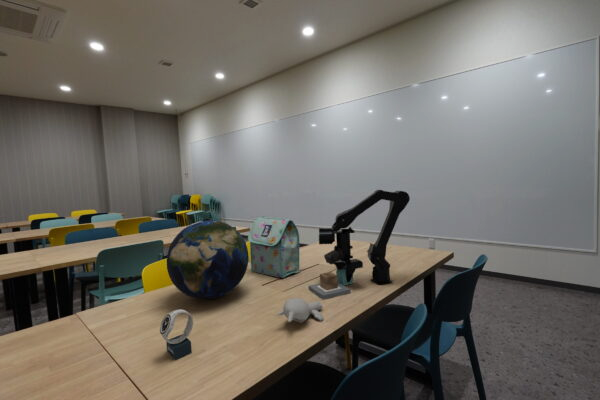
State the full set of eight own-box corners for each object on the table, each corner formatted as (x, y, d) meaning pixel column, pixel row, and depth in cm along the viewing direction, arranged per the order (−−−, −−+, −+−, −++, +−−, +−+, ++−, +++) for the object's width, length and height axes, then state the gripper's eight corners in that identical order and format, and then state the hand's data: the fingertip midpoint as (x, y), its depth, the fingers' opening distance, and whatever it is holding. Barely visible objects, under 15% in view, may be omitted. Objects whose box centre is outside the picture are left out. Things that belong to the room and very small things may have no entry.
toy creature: (337, 304, 95) (300, 318, 79) (330, 324, 96) (292, 342, 80) (308, 284, 103) (269, 294, 87) (301, 303, 104) (261, 316, 88)
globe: (213, 279, 136) (208, 215, 134) (265, 288, 121) (261, 216, 119) (152, 304, 110) (146, 225, 108) (209, 320, 95) (203, 228, 93)
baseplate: (334, 283, 123) (334, 280, 123) (350, 293, 112) (350, 289, 112) (308, 289, 118) (308, 285, 118) (323, 299, 107) (322, 295, 107)
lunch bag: (246, 272, 144) (243, 218, 142) (271, 264, 156) (268, 214, 155) (280, 281, 129) (277, 220, 127) (304, 271, 141) (301, 216, 140)
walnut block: (331, 284, 118) (330, 271, 118) (337, 287, 113) (337, 275, 113) (320, 286, 116) (319, 274, 116) (326, 290, 111) (325, 277, 111)
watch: (159, 355, 76) (156, 313, 76) (189, 342, 82) (187, 303, 81) (166, 364, 72) (163, 320, 72) (198, 350, 78) (195, 309, 77)
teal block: (346, 279, 127) (346, 268, 127) (353, 283, 122) (352, 271, 122) (336, 281, 125) (336, 270, 125) (343, 285, 120) (342, 273, 120)
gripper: (316, 242, 128) (317, 277, 129) (338, 250, 111) (340, 290, 112) (338, 239, 132) (339, 273, 133) (363, 246, 115) (364, 285, 116)
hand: (344, 280), depth 124 cm, fingers closed on teal block, 5 cm apart
